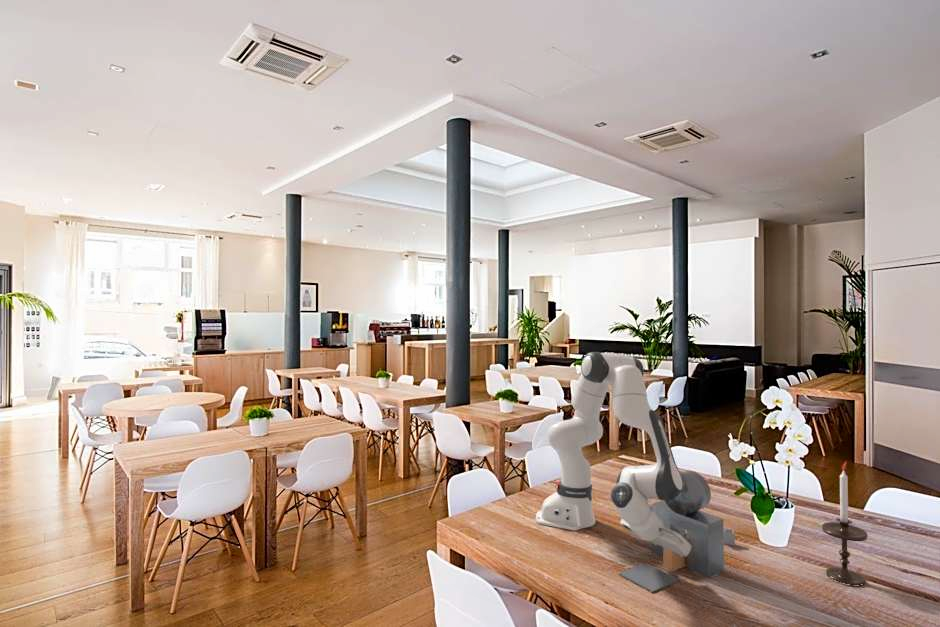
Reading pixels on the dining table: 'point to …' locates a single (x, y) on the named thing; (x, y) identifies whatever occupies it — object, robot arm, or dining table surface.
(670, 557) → the plug
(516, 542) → the dining table surface
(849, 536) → the candlestick
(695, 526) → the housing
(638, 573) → the mat
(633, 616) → the dining table surface
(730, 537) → the lighter
